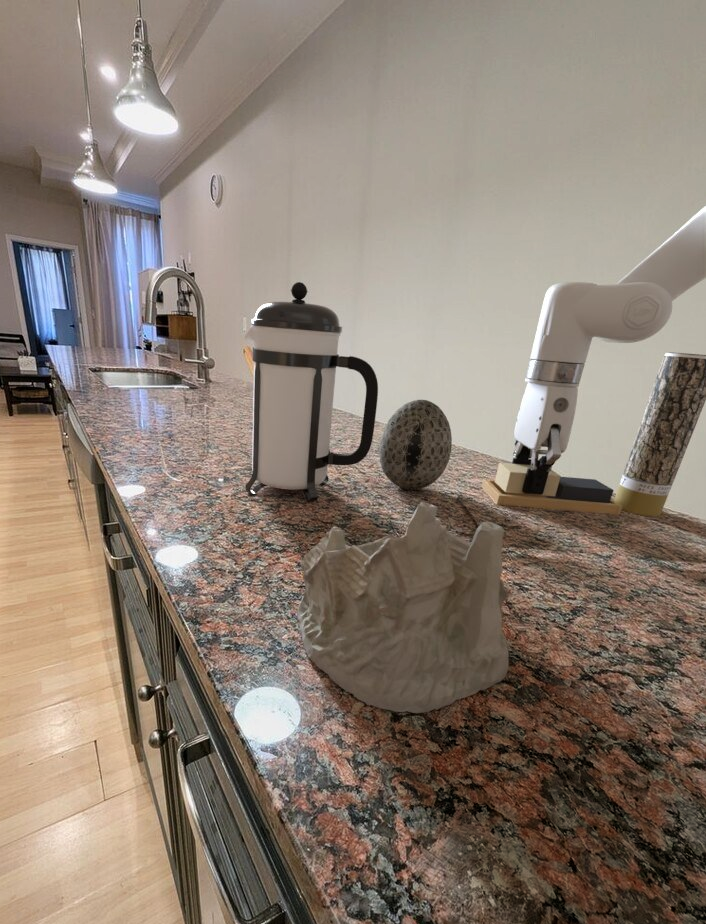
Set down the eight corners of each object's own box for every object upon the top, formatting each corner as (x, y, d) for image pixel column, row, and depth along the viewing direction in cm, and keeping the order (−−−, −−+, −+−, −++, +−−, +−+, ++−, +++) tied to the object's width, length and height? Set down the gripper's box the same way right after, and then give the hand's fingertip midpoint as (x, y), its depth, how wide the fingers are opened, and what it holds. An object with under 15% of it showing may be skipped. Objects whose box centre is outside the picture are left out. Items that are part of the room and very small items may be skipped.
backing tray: (590, 499, 79) (594, 488, 78) (618, 518, 71) (623, 505, 71) (480, 489, 79) (483, 478, 79) (496, 507, 71) (499, 495, 71)
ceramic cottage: (539, 681, 35) (580, 497, 30) (345, 740, 29) (354, 526, 24) (427, 587, 48) (441, 450, 43) (280, 615, 43) (278, 462, 38)
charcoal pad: (589, 498, 78) (595, 479, 76) (606, 510, 73) (613, 490, 71) (543, 494, 78) (548, 475, 76) (557, 506, 73) (563, 485, 71)
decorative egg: (380, 473, 84) (391, 392, 78) (443, 483, 81) (459, 399, 76) (369, 492, 73) (381, 400, 68) (442, 504, 71) (460, 409, 65)
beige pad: (540, 485, 77) (546, 466, 76) (555, 496, 72) (561, 475, 71) (494, 482, 77) (499, 462, 76) (505, 492, 72) (510, 471, 71)
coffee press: (267, 512, 62) (276, 270, 51) (229, 477, 75) (229, 277, 64) (368, 498, 71) (394, 288, 59) (318, 469, 83) (332, 291, 72)
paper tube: (666, 515, 74) (729, 357, 65) (649, 522, 70) (713, 355, 61) (622, 502, 79) (675, 353, 70) (604, 507, 75) (657, 351, 66)
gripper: (610, 382, 60) (571, 507, 66) (553, 371, 75) (527, 473, 82) (553, 377, 60) (521, 503, 66) (508, 368, 76) (486, 470, 82)
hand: (524, 486), depth 74 cm, fingers closed on beige pad, 5 cm apart
